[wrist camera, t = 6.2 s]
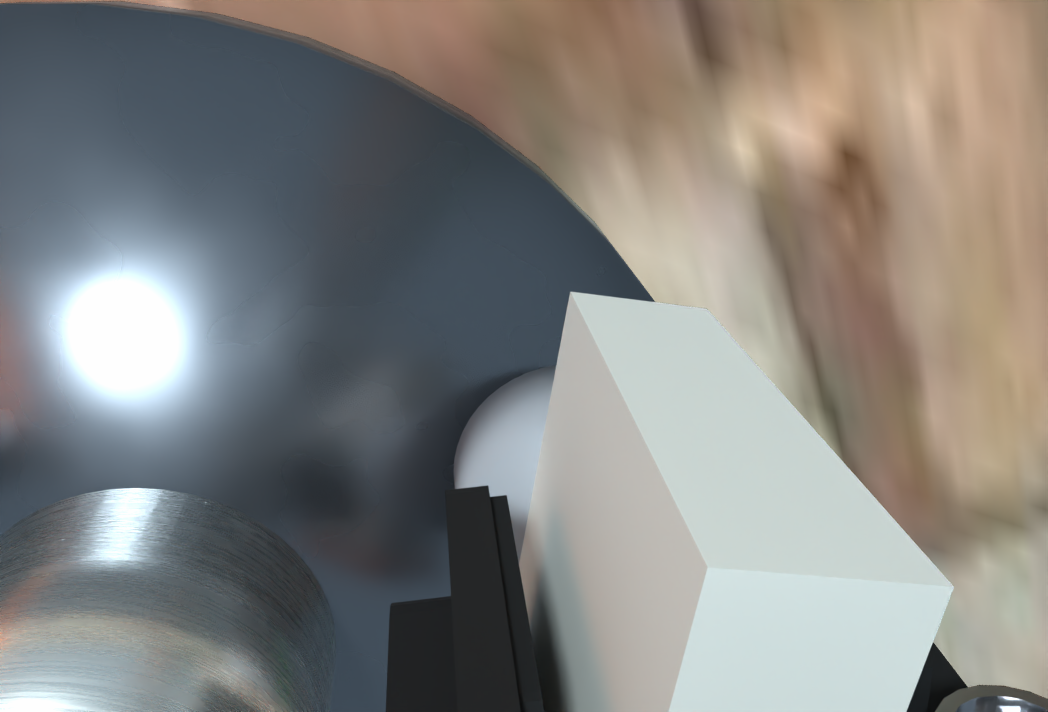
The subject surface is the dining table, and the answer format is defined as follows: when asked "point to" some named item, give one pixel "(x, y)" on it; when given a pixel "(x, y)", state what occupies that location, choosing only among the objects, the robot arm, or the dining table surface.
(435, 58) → the dining table surface
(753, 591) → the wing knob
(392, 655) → the robot arm
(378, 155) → the tribrach base
